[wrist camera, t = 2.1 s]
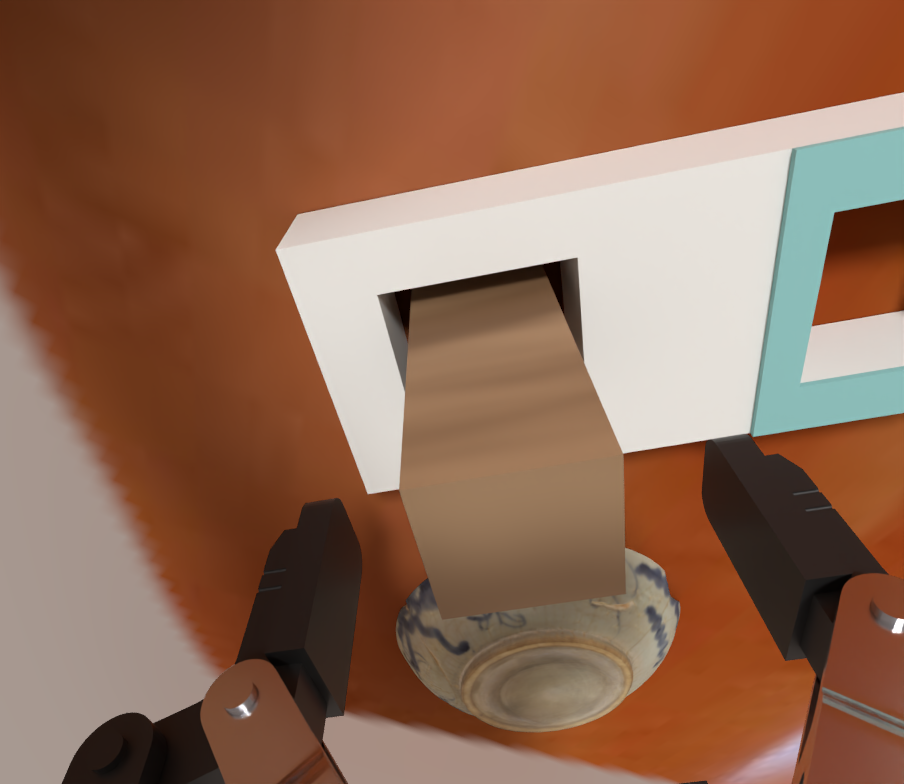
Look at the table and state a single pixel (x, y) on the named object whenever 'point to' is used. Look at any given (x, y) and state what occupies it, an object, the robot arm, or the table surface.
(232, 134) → the table surface
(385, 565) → the table surface
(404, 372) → the socket rail
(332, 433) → the table surface
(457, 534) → the walnut peg
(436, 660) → the decorative bowl
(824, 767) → the robot arm
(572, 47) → the table surface
